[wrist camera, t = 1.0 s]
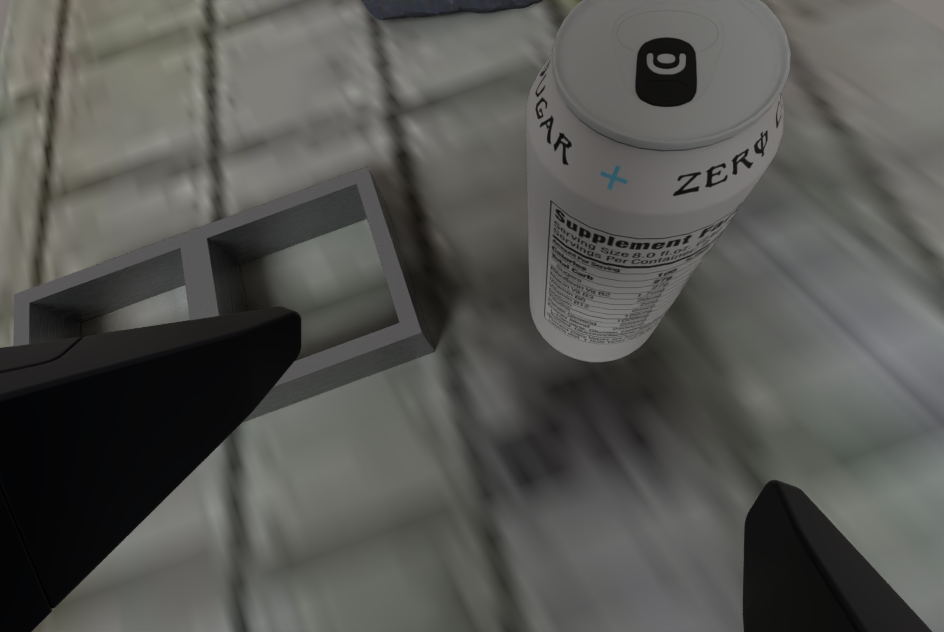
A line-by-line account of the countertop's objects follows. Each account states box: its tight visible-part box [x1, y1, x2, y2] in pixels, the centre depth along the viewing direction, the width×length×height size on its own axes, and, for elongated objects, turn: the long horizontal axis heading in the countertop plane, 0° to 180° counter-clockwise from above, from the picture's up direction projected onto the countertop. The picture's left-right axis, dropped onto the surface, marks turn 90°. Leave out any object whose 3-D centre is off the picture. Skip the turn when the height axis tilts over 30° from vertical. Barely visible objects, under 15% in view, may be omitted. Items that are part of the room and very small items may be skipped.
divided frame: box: [13, 166, 434, 422], centre depth 25 cm, size 10×19×3 cm, turn 109°
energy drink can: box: [526, 0, 791, 362], centre depth 17 cm, size 6×6×15 cm
